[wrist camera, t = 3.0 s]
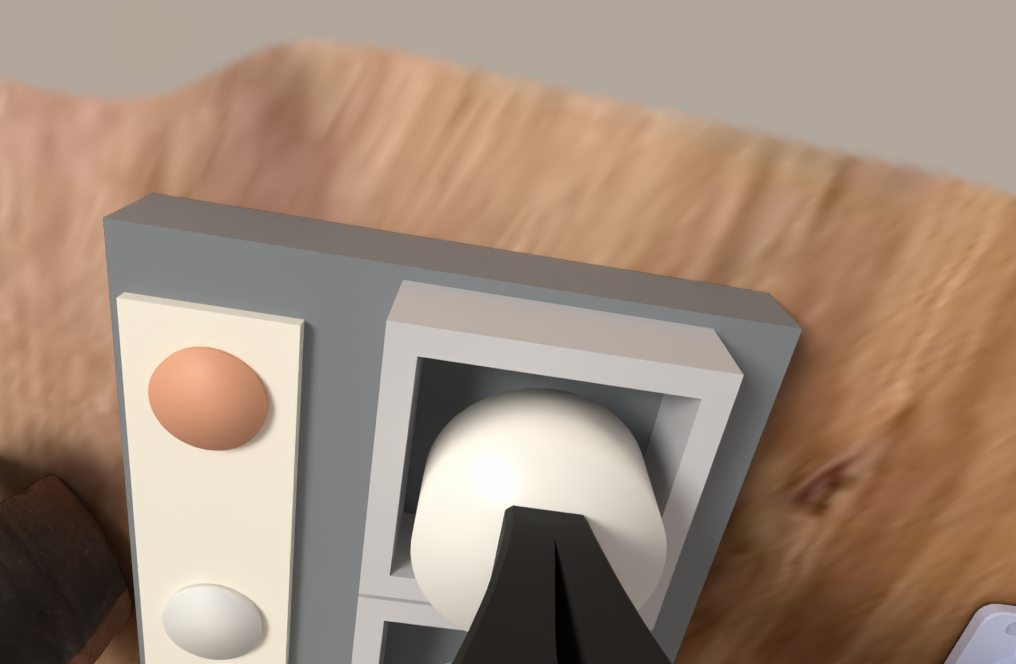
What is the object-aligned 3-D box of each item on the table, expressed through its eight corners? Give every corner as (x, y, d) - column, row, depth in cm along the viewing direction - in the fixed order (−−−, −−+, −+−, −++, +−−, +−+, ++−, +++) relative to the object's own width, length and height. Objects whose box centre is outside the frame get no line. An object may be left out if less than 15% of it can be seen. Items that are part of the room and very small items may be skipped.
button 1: (671, 406, 13) (698, 471, 11) (616, 580, 15) (632, 660, 13) (438, 371, 12) (426, 432, 11) (412, 554, 14) (397, 631, 12)
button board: (769, 293, 16) (846, 375, 12) (585, 811, 24) (598, 953, 20) (152, 193, 15) (36, 250, 11) (182, 768, 23) (121, 908, 20)
